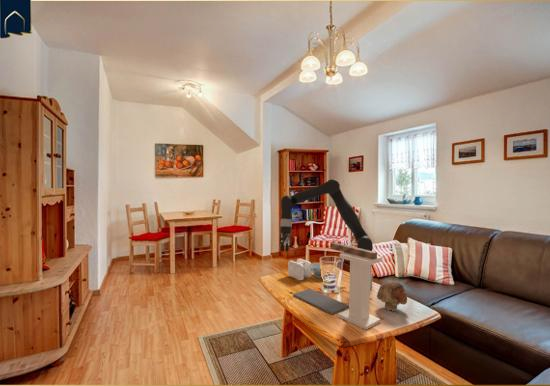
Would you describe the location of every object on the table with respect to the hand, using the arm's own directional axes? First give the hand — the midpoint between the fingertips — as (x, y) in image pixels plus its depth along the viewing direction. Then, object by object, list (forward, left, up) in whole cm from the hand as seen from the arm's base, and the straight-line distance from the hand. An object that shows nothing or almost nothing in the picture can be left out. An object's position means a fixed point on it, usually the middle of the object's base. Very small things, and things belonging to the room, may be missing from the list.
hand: (284, 251), depth 182 cm
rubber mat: (-6, +30, -23) cm, 38 cm away
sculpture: (-34, +55, -23) cm, 69 cm away
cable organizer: (-17, -9, -23) cm, 30 cm away
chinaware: (-32, -5, -23) cm, 40 cm away
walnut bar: (-10, +51, +9) cm, 52 cm away
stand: (-10, +55, -23) cm, 61 cm away
